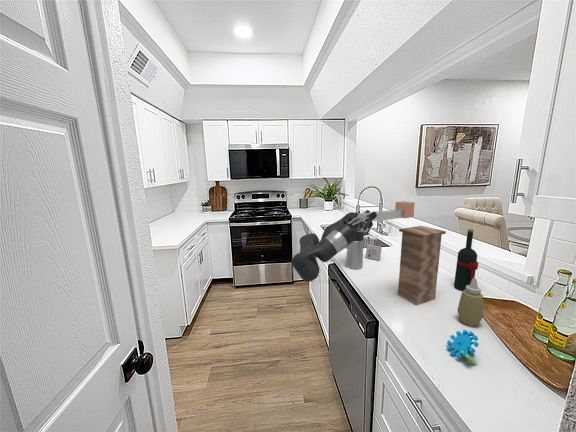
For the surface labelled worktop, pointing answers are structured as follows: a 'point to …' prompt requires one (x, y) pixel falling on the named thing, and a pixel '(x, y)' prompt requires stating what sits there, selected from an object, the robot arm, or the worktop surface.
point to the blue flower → (463, 345)
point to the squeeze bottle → (471, 305)
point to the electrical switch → (373, 252)
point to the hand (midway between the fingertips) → (372, 212)
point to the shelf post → (419, 263)
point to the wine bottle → (466, 264)
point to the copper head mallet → (392, 212)
